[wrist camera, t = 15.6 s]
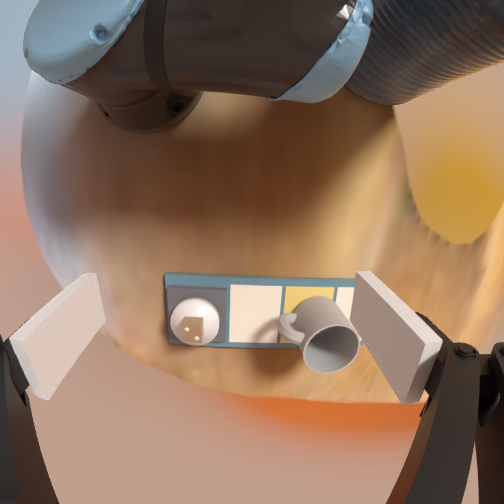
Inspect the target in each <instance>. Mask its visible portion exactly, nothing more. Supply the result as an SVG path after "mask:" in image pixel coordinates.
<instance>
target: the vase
mask: <svg viewBox="0 0 504 504" xmlns="http://www.w3.org/2000/svg"><path fill="white" fill-rule="evenodd" d="M371 1H372V4H373V19H372V21H371V22H370V24H369V28H370V29H371V31H370V36H369V39H368V42H367V45H366V48H365V50H364V53H363V55H362V57H361V59H360V61H359V63H358V65H357V67H356V69H355V70H354V72H353V73H352V75H351V77H350V78H349V79H348V81H347V82H346V83H345V85H346V86H347V87H348V88H349V89H351V90H352V91H353V92H355V93H356V94H358V95H359V96H361V97H363V98H365V99H367V100H369V101H372V102H375V103H378V104H383V105H398V104H402V103H405V102H408V101H410V100H412V99H414V98H416V97H419V96H421V95H423V94H426V93H428V92H430V91H433V90H435V89H437V88H440V87H442V86H444V85H446V84H448V83H450V82H453V81H455V80H458V79H460V78H463V77H465V76H467V75H470V74H472V73H475V72H478V71H481V70H483V69H485V68H489V67H491V66H494V65H497V64H499V63H503V62H504V0H371Z"/></svg>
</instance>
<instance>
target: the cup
mask: <svg viewBox="0 0 504 504" xmlns="http://www.w3.org/2000/svg"><path fill="white" fill-rule="evenodd" d="M290 325H292V326H293V328H292V327H291V326H290ZM277 328H278V331H279V333H280V335H281V336H282V337H283V338H284V339H285V340H287V341H289V342H291V343H294V344H297V345H299V347H300V350H301V353H302V356H303V359H304V361H305V364H306V365H307V366H308V368H309V369H311V370H312V371H314V372H316V373H321V374H330V373H335V372H338V371H340V370H342V369H344V368H346V367H347V366H348V365H350V364H351V363H352V362H353V361H354V359H355V358H356V356H357V355H358V353H359V349H360V337H359V334H358V333H357V332H356V330H355V329H354V327H353V326H352V325H351V323H350V322H349V320H348V319H347V318H346V316H345V315H344V313H343V312H342V311H341V309H340V308H339V307H338V305H337V304H336V303H335V302H334V301H333V300H332V299H330V298H328V297H325V296H314V297H310V298H308V299H306V300H304V301H303V302H301V303H300V304H299V305H298V306H297V308H296V309H295V311H294V313H285V314H282V315H281V316H280V317H279V318H278V319H277Z"/></svg>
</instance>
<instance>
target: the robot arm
mask: <svg viewBox="0 0 504 504" xmlns="http://www.w3.org/2000/svg"><path fill="white" fill-rule="evenodd" d="M372 19H373V4H372V1H371V0H40V1H39V3H38V4H37V5H36V7H35V9H34V11H33V13H32V15H31V17H30V19H29V21H28V24H27V27H26V30H25V34H24V41H23V50H24V56H25V58H26V59H27V62H28V65H29V66H30V68H31V69H32V70H33V71H35V72H36V73H38V74H39V75H41V76H42V77H44V78H45V79H46V80H48V81H49V82H50V83H53V84H59V85H61V86H64V87H66V88H68V89H71V90H73V91H75V92H78V93H80V94H82V95H85V96H87V97H89V98H91V99H94V100H96V101H97V103H98V105H99V107H100V109H101V111H102V112H103V114H104V115H105V116H106V118H107V119H108V120H110V121H111V122H112V123H113V124H115V125H116V126H118V127H121V128H123V129H126V130H128V131H132V132H137V133H151V132H157V131H160V130H164V129H166V128H169V127H171V126H173V125H175V124H176V123H178V122H179V121H181V120H182V119H183V118H185V117H186V116H187V115H188V114H189V113H190V112H191V111H192V110H193V109H194V107H195V106H196V105H197V103H198V102H199V100H200V98H201V96H202V94H203V92H204V91H207V92H221V93H233V94H242V95H251V96H259V97H266V98H267V99H268V100H271V101H279V100H290V101H298V102H305V103H318V102H320V101H323V100H324V99H328V98H330V97H332V96H333V95H334V94H336V93H337V92H338V91H339V90H340V89H341V88H342V87H343V86H344V85H345V83H346V82H347V81H348V79H349V78H350V77H351V75H352V73H353V72H354V70H355V69H356V67H357V65H358V63H359V61H360V59H361V57H362V55H363V53H364V50H365V48H366V45H367V42H368V39H369V36H370V31H371V29H370V28H369V24H370V22H371V21H372ZM105 321H106V320H105V315H104V311H103V306H102V301H101V296H100V291H99V286H98V280H97V275H96V273H84V274H82V275H81V276H80V277H79V278H77V279H76V280H75V281H74V282H72V283H71V284H70V285H69V286H67V287H66V288H65V289H64V290H63V291H62V292H60V293H59V294H58V295H57V296H55V297H54V298H53V299H52V300H51V301H50V302H48V303H47V304H46V305H45V306H44V307H43V308H41V309H40V310H39V311H38V312H37V313H36V314H35V315H34V316H32V317H31V318H29V319H28V320H27V321H26V322H25V323H24V324H23V325H22V326H21V327H19V329H17V330H16V331H15V332H14V333H13V334H12V335H11V336H10V337H9V338H8V339H6V340H5V341H4V342H3V340H2V337H1V335H0V504H59V502H58V499H57V497H56V494H55V492H54V489H53V487H52V484H51V481H50V478H49V475H48V472H47V470H46V466H45V463H44V460H43V457H42V453H41V450H40V446H39V442H38V439H37V435H36V431H35V427H34V423H33V418H32V413H31V408H30V402H29V397H28V395H27V393H26V391H25V390H26V389H27V387H28V386H30V388H31V389H32V392H33V394H34V396H35V397H39V398H42V399H45V400H49V399H50V398H51V396H52V395H53V393H54V392H55V390H56V389H57V387H58V386H59V384H60V383H61V381H62V380H63V378H64V377H65V376H66V374H67V373H68V371H69V370H70V368H71V367H72V366H73V364H74V363H75V361H76V360H77V358H78V357H79V356H80V354H81V353H82V351H83V350H84V349H85V347H86V346H87V345H88V343H89V342H90V341H91V339H92V338H93V337H94V335H95V334H96V333H97V331H98V330H99V329H100V327H101V326H102V325H103V323H104V322H105ZM350 322H351V323H352V325H353V326H354V328H355V329H356V331H357V333H358V334H359V336H360V337H361V339H362V340H363V342H364V343H365V345H366V347H367V348H368V350H369V351H370V353H371V355H372V356H373V358H374V359H375V361H376V363H377V364H378V366H379V367H380V369H381V371H382V372H383V374H384V375H385V377H386V379H387V380H388V382H389V384H390V385H391V387H392V389H393V390H394V392H395V394H396V395H397V397H398V399H399V400H400V402H401V404H402V405H406V404H410V403H414V402H418V401H419V400H420V398H421V396H422V394H423V391H424V389H425V390H426V392H427V393H428V394H429V397H428V399H427V401H426V403H425V406H424V408H423V410H422V412H421V414H420V416H421V420H420V424H419V426H418V429H417V432H416V435H415V438H414V440H413V443H412V446H411V448H410V451H409V454H408V456H407V459H406V461H405V464H404V466H403V468H402V471H401V473H400V475H399V477H398V480H397V482H396V484H395V486H394V488H393V490H392V492H391V494H390V496H389V498H388V501H387V502H386V504H461V502H462V499H463V495H464V491H465V488H466V483H467V479H468V474H469V470H470V465H471V460H472V453H473V448H474V441H475V447H476V455H477V467H478V486H479V504H504V343H503V342H500V343H496V344H495V345H494V347H493V349H492V352H491V354H479V352H478V351H477V350H476V349H475V348H474V347H473V346H471V345H469V344H466V343H460V342H458V343H453V342H452V341H451V340H450V339H449V338H448V337H447V336H446V335H445V334H444V333H443V332H442V331H441V330H440V329H438V328H437V327H436V326H435V325H434V324H433V323H432V322H431V321H430V320H429V319H428V318H427V317H426V316H424V315H422V314H420V313H418V312H414V311H412V310H411V309H410V308H409V307H408V306H407V305H406V304H405V303H404V302H403V301H402V300H401V299H400V298H399V297H398V296H397V295H396V294H394V293H393V292H392V291H391V290H390V289H389V288H388V287H387V286H386V285H385V284H384V283H383V282H381V281H380V280H379V279H378V278H377V277H376V276H375V275H374V274H373V273H371V272H370V271H358V272H356V279H355V286H354V294H353V300H352V307H351V314H350ZM499 398H500V399H499Z"/></svg>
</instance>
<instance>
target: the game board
mask: <svg viewBox="0 0 504 504" xmlns="http://www.w3.org/2000/svg"><path fill="white" fill-rule="evenodd" d="M354 286H355V279H343V278H297V277H264V276H237V275H213V274H191V273H171V272H166V273H165V291H166V309H167V323H168V336H169V343H170V344H182V345H189V344H186V343H184V342H182V341H181V340H179V339H178V338H177V337H176V336H175V334H174V333H173V331H172V329H171V325H170V319H171V315H172V313H173V311H174V309H175V307H176V305H177V304H178V303H179V302H180V301H181V300H183V299H185V298H187V297H192V296H196V297H202V298H205V299H207V300H209V301H210V302H211V303H212V304H213V305H214V306H215V307H216V308H217V310H218V312H219V316H220V322H219V330H218V333H217V335H216V337H215V338H214V339H213V340H212V341H211V342H209V343H207V344H204V345H199V346H213V347H237V348H300V347H299V345H297V344H294V343H291V342H289V341H287V340H285V339H284V338H283V337H282V336H281V335H280V333H279V331H278V328H277V319H278V318H279V317H280V316H281V315H282V314H285V313H294V311H295V309H296V308H297V306H298V305H299V304H300V303H301V302H303V301H304V300H306V299H308V298H310V297H314V296H325V297H328V298H330V299H332V300H333V301H334V302H335V303H336V304H337V305H338V307H339V308H340V309H341V311H342V312H343V313H344V315H345V316H346V318H347V319H348V320H349V322H350V314H351V307H352V300H353V294H354ZM350 323H351V322H350ZM351 325H352V323H351ZM290 326H291V327H292V328H293V326H292V325H290ZM352 326H353V325H352ZM353 327H354V326H353ZM354 329H355V328H354ZM355 330H356V329H355ZM356 332H357V331H356ZM359 337H360V336H359ZM362 344H363V340H362V339H361V337H360V345H362Z"/></svg>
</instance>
